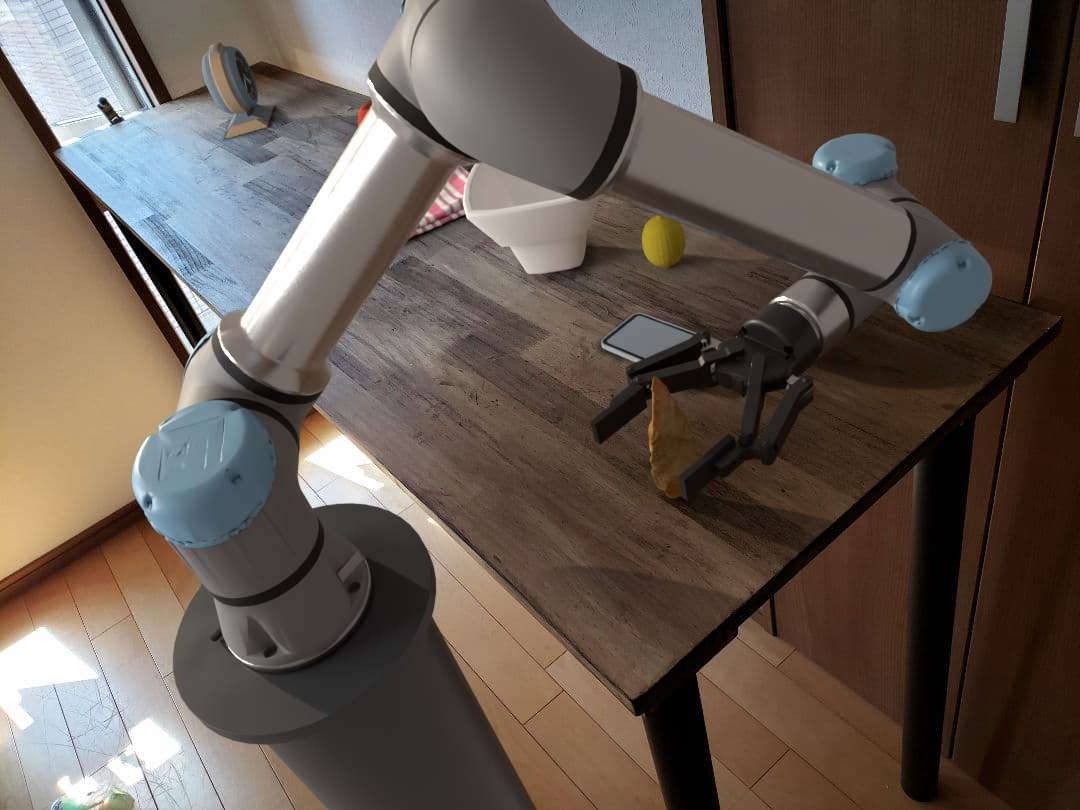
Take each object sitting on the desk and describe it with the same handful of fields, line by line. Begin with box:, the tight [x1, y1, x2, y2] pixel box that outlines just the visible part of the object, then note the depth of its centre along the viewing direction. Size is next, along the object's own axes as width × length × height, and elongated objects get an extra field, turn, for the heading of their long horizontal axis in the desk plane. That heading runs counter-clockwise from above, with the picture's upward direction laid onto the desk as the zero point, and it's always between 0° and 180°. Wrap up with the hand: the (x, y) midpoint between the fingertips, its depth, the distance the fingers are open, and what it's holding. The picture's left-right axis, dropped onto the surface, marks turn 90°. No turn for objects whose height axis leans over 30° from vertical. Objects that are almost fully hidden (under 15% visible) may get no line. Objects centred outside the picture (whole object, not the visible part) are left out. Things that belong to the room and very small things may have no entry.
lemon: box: [641, 214, 686, 269], centre depth 109 cm, size 6×6×8 cm
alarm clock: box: [201, 42, 274, 140], centre depth 187 cm, size 14×10×18 cm
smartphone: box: [600, 312, 715, 375], centre depth 99 cm, size 7×1×15 cm
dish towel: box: [408, 166, 470, 240], centre depth 139 cm, size 17×23×4 cm
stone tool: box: [647, 376, 700, 500], centre depth 78 cm, size 5×2×15 cm, turn 132°
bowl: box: [463, 162, 601, 275], centre depth 115 cm, size 19×19×14 cm
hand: (636, 459), depth 76 cm, fingers open, 11 cm apart
